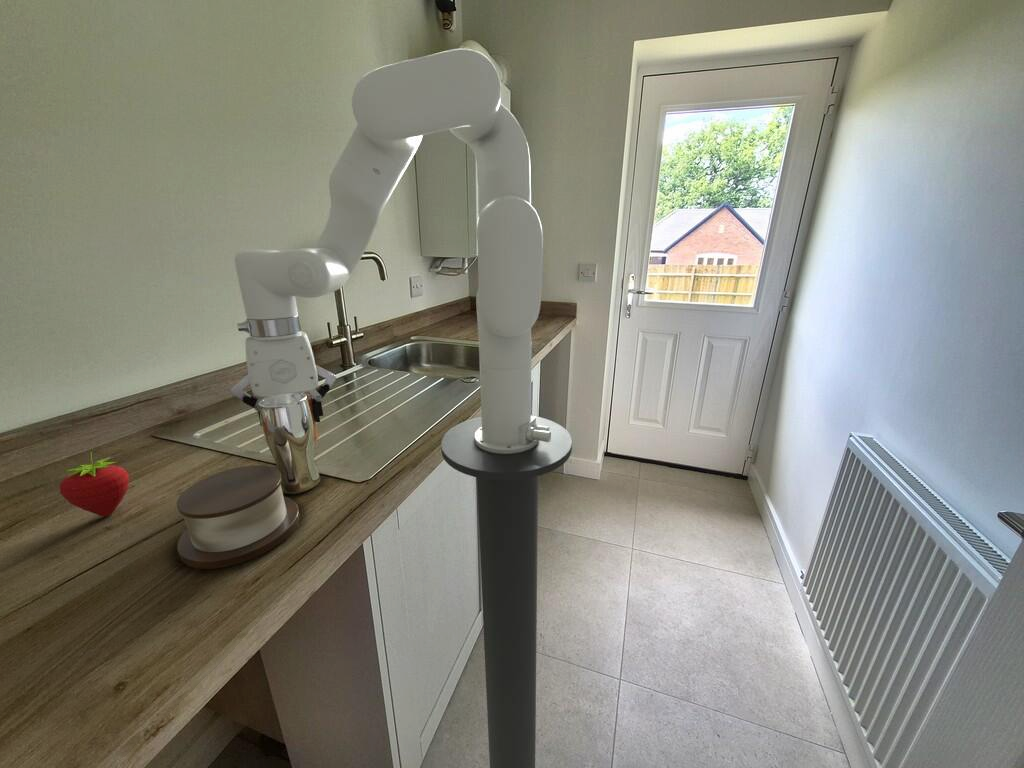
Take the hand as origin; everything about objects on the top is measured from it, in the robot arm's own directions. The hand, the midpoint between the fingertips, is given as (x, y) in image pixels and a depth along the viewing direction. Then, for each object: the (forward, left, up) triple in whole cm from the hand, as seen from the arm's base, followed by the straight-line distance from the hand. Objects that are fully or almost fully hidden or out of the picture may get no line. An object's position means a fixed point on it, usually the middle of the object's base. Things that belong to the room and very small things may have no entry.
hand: (293, 423), depth 74 cm
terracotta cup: (0, 0, -3) cm, 3 cm away
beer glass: (-8, +6, -7) cm, 12 cm away
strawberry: (+11, +24, -7) cm, 27 cm away
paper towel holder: (-11, +18, -7) cm, 22 cm away
